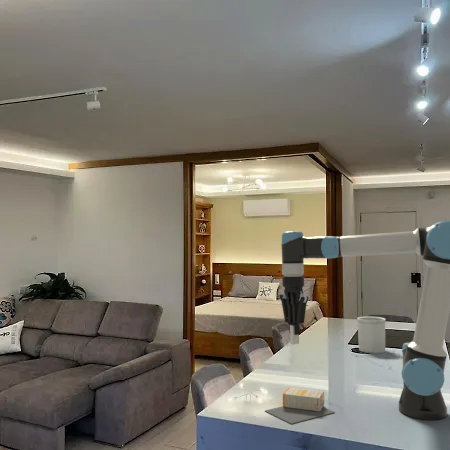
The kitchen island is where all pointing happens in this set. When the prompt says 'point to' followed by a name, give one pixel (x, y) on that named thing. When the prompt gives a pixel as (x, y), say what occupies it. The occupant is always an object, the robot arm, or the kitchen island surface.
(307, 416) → the mat
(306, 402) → the supplement box
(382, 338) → the utensil holder
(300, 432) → the kitchen island surface
